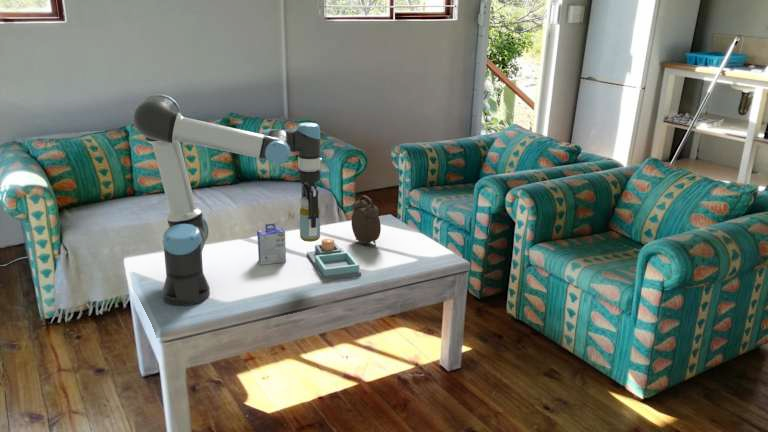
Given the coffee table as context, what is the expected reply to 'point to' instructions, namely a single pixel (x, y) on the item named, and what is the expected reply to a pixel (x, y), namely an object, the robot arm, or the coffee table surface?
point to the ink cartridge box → (271, 245)
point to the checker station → (334, 263)
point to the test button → (327, 244)
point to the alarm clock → (365, 221)
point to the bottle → (307, 221)
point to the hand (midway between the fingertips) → (310, 231)
